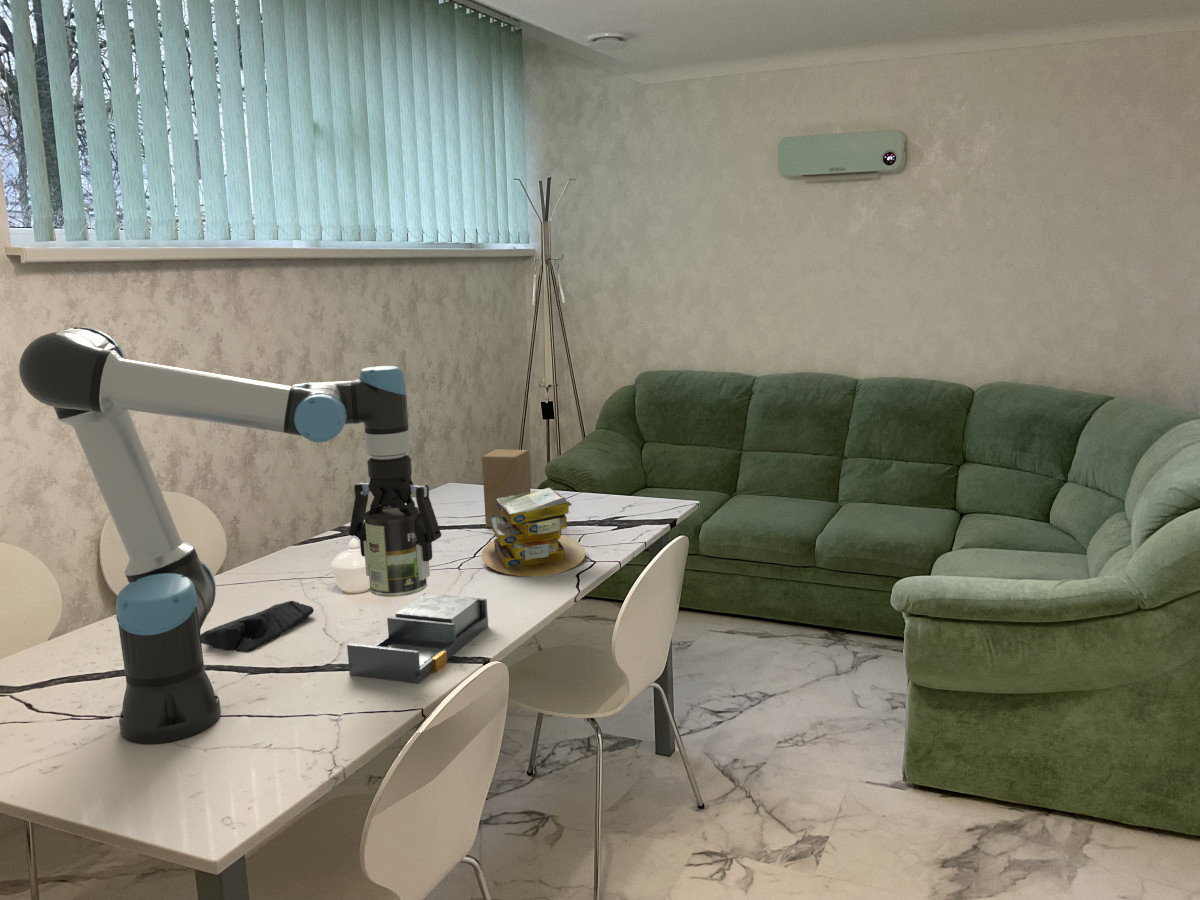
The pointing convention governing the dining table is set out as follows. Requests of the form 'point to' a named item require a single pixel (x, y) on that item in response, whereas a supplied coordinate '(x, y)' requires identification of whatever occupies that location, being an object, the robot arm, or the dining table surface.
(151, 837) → the dining table surface
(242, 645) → the black pouch
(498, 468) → the wooden block
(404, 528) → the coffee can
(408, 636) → the rack
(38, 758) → the dining table surface
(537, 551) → the stacked yellow boxes
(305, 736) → the dining table surface
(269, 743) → the dining table surface
